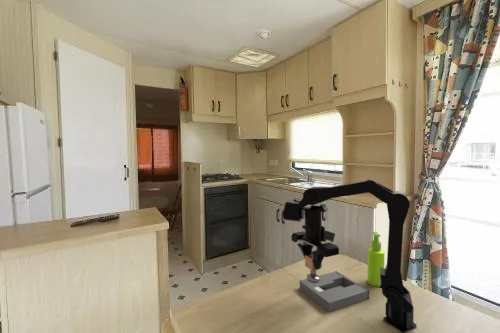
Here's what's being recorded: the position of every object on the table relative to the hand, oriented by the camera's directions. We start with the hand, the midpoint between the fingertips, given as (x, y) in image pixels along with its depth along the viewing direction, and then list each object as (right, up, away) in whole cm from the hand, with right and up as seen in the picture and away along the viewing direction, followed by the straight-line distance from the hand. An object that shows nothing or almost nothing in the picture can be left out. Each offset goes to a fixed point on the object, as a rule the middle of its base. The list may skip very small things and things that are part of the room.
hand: (313, 267), depth 85 cm
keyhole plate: (+8, -12, +4) cm, 15 cm away
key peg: (0, -5, 0) cm, 5 cm away
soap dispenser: (+28, -12, +12) cm, 33 cm away
